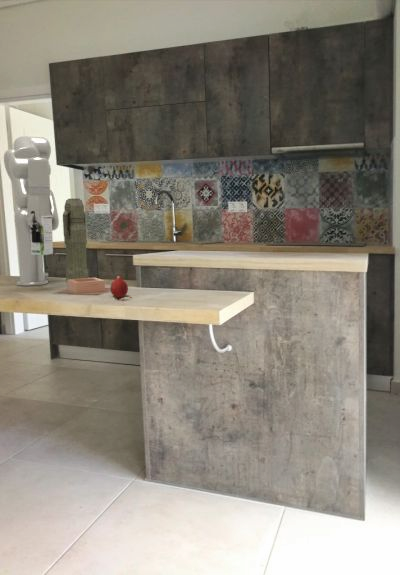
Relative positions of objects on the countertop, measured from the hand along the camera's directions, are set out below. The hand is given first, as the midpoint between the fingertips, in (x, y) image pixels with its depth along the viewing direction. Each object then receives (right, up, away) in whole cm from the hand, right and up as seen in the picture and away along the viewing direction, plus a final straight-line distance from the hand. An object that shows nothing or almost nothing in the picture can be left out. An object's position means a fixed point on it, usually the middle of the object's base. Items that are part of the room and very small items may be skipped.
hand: (41, 241), depth 197 cm
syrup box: (0, -5, +1) cm, 5 cm away
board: (+17, -19, -2) cm, 26 cm away
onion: (+31, -21, -15) cm, 41 cm away
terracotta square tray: (+17, -18, -2) cm, 25 cm away
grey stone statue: (+9, -17, +18) cm, 26 cm away
